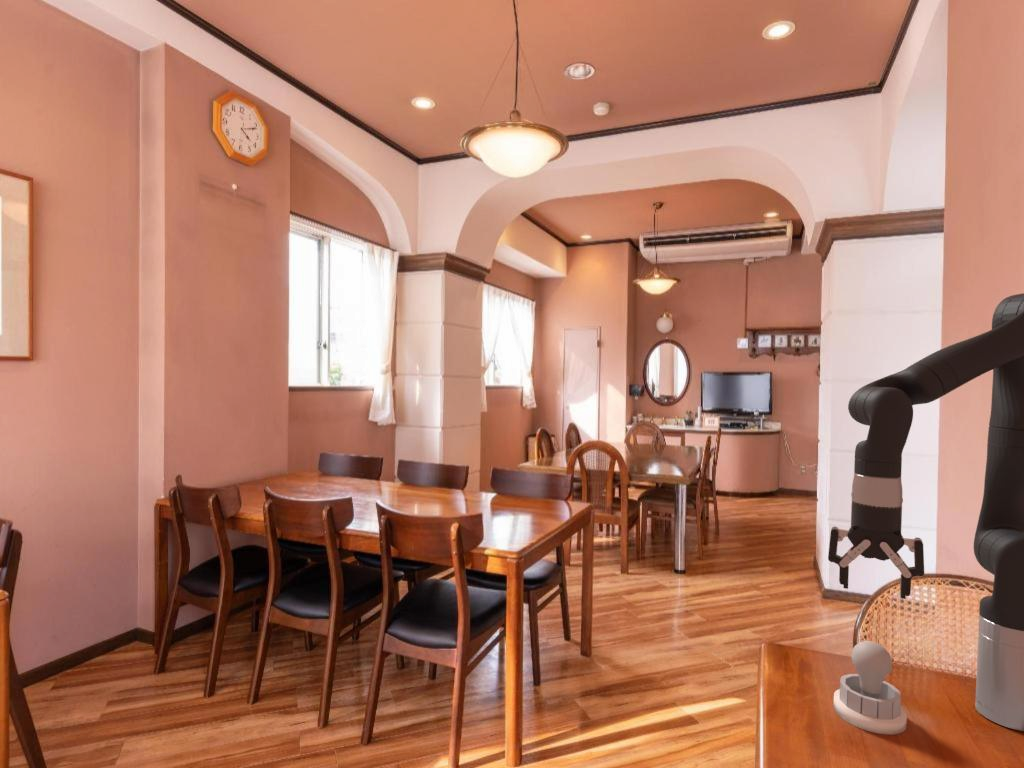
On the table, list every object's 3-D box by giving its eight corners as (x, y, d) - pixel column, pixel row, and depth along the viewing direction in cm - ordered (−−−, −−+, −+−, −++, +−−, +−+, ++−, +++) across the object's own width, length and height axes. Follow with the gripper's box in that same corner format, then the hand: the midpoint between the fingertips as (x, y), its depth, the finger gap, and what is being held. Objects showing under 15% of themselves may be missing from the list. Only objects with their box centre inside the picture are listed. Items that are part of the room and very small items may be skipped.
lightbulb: (896, 716, 100) (899, 653, 100) (857, 711, 101) (859, 648, 101) (881, 696, 106) (884, 636, 106) (844, 692, 107) (846, 633, 107)
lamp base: (881, 698, 109) (882, 672, 109) (921, 735, 98) (922, 706, 98) (821, 696, 109) (822, 670, 109) (854, 733, 98) (855, 703, 98)
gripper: (924, 502, 102) (921, 594, 103) (831, 492, 110) (828, 577, 110) (927, 510, 96) (924, 608, 96) (829, 499, 103) (826, 590, 104)
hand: (873, 592), depth 103 cm, fingers open, 8 cm apart
